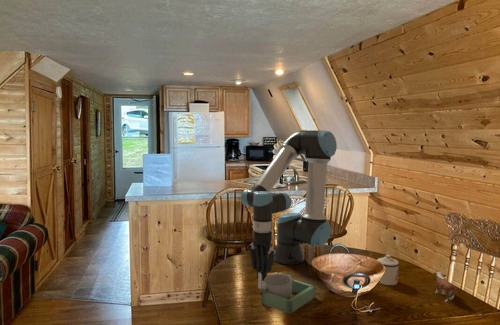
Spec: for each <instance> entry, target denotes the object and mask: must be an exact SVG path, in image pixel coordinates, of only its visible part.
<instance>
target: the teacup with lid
mask: <svg viewBox="0 0 500 325" xmlns="http://www.w3.org/2000/svg"><path fill="white" fill-rule="evenodd" d="M377 261H379V262H381V263H382V264H383V265H384V266H385V268H386V271H385V273H384V275H383V277H382V279H381V280H380V282H378V284H381V285H384V286H396V285H397V284H398V283H399V282H398V281H399V280H398V278H399V265H400V263H399V260H397V259H395V258H392V257H391V255H390V254H385V256H384V257H378V258H377V260H376V262H377Z"/></svg>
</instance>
